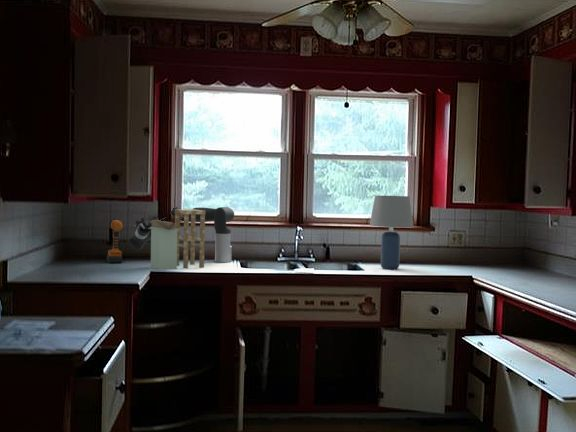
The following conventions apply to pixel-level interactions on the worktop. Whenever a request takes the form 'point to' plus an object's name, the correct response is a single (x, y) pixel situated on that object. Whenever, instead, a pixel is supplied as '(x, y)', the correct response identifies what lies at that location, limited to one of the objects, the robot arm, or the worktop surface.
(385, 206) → the lamp
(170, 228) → the tan cardboard block
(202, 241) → the stool
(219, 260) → the robot arm
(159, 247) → the pale green block
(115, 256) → the power drill
